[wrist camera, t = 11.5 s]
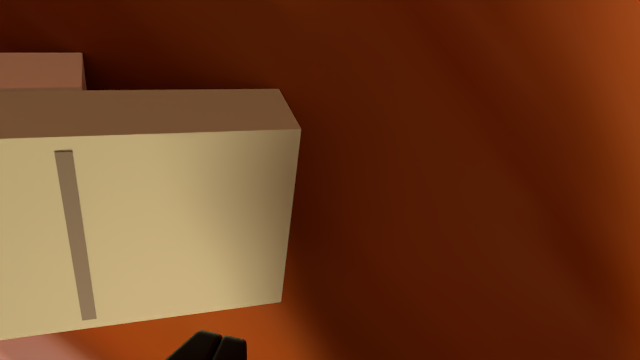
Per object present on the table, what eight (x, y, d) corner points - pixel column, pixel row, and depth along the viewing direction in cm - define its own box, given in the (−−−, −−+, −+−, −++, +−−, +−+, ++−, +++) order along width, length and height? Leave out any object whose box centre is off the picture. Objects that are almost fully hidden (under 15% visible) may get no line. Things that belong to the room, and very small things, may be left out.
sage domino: (302, 129, 11) (-262, 148, 8) (281, 302, 14) (-150, 361, 11) (278, 88, 13) (-200, 92, 10) (264, 250, 15) (-114, 289, 13)
